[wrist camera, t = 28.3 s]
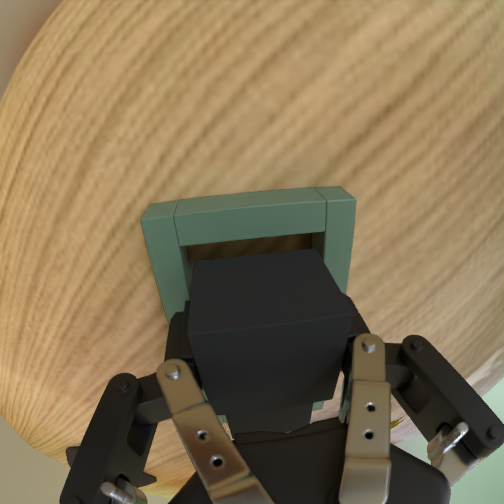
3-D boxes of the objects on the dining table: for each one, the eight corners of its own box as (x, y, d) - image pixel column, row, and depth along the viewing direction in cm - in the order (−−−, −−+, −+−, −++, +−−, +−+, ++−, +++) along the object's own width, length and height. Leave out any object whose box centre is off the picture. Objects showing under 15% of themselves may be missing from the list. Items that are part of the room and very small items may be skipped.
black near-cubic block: (228, 390, 21) (232, 439, 17) (218, 346, 18) (221, 403, 15) (296, 381, 21) (308, 428, 18) (299, 336, 19) (316, 389, 15)
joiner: (205, 404, 22) (206, 424, 20) (149, 203, 13) (139, 219, 12) (316, 390, 23) (322, 409, 21) (340, 185, 14) (357, 198, 12)
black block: (211, 345, 15) (213, 416, 11) (194, 260, 13) (186, 334, 9) (309, 333, 16) (332, 399, 12) (316, 247, 13) (353, 312, 9)
